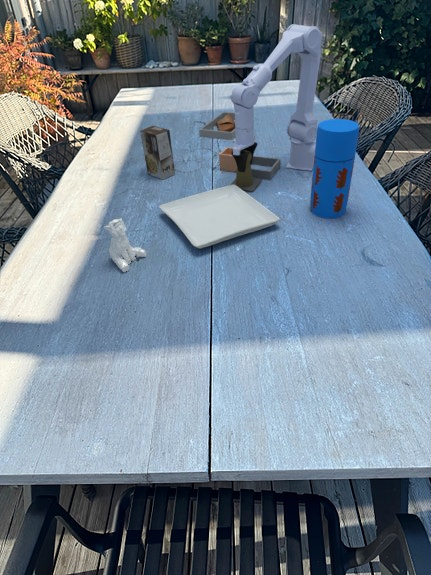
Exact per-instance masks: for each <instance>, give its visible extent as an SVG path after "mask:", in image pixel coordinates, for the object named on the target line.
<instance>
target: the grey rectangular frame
mask: <svg viewBox="0 0 431 575" xmlns="http://www.w3.org/2000/svg"><path fill="white" fill-rule="evenodd" d="M281 160H282V159H281V158H277V157H269V156H268V157H267V156H261V155H259V156H258V155H253V159H252V164H251V166H252V165H256V166H265V167H270V168H269V170H268V169H261V168H254V167H251V172H252V178H255V179H262V180H266V181H267V180H269V181H270V180H272V178H274V176H275V174H277V172H278V171H279V169H280V168H281V167H282V166H281V164H282V161H281Z"/></svg>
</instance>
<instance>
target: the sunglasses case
mask: <svg viewBox="0 0 431 575" xmlns="http://www.w3.org/2000/svg"><path fill="white" fill-rule="evenodd" d="M216 127H217V131H225V132H232V131H233V130H234V129H235V120H233V118H232V117H231V115H230V114H228V115H226V116H225V117H224V118H223V119H221V120H219V121H218V122H217V123H216Z"/></svg>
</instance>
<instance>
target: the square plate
mask: <svg viewBox="0 0 431 575" xmlns="http://www.w3.org/2000/svg"><path fill="white" fill-rule="evenodd" d="M158 207H159V209H160V210H161V212H163V213H164V214H165V215H166V216H167V217H168V218H169V219H171V220H172V222H174V224H176V226H177V227H178V228H179V229H180V231H181V232H182V234H184V235H185V237H186V238H187V239H188V241H189V242H190V243H191V245H192V246H193V247H194V248H197V249H204V248H206V247H210V246H214V245H216V244H219V243H222V242H224V241H225V242H226V241H228V240H231V239H234V238H238V237H241V236H244V235H246V234H250V233H254V232H257V231H261V230H263V229H265V228H268V227H271V226H274V225H276V224H277V223H278V222H280V221H281V219H280V217H279V216H277V215H276V214H275V213H274V212H272V211H271V210H269V209H268V208H267V207H266V206H264V205H263V204H262V203H260V202H259V201H258V200H257V199H255V198H254V197H252V195H250V194H248V193H247V191H243V190H242V189H240V188H239V187H237V186H236V185H230V184H229V185H225V186H221V187H219V188H218V187H217V188H215V189H210V190H206V191H203V192H199V193H196V194H193V195H190V196H189V195H188V196H186V197H182V198H179V199H175V200H173V201H169V202H166V203H162V204H160V205H158Z"/></svg>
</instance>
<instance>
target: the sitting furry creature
mask: <svg viewBox="0 0 431 575" xmlns="http://www.w3.org/2000/svg"><path fill="white" fill-rule="evenodd" d="M103 229H104V230H106V231H108V233H109V235H111V239H110V247H109V250H108V251H109V252H108V253H109V256H110V259H111V260H112V261H113V262H114V263H115V264H116V266H117V267H118V268H119V270H121V272H123V273H126V271H127V272H129V270H130V265H131V264H132V262H135V261H136V260H137V259H138V258H146V257H147V250H146V249H144V248H141V247H140V246H139V247H135V246H134V247H133V246H131V243H130V240H129V238H128V237H127V235H126V232H127V226H126V225H125V222H124V221H123V218H122V217H120V218H116V219H115V218H114V219H112V220H110V221H109V222H108V224H107V225H104V226H103ZM135 256H136V257H135ZM136 258H137V259H136ZM135 259H136V260H135ZM131 261H132V262H131ZM130 263H131V264H130ZM128 264H130V265H128Z"/></svg>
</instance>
